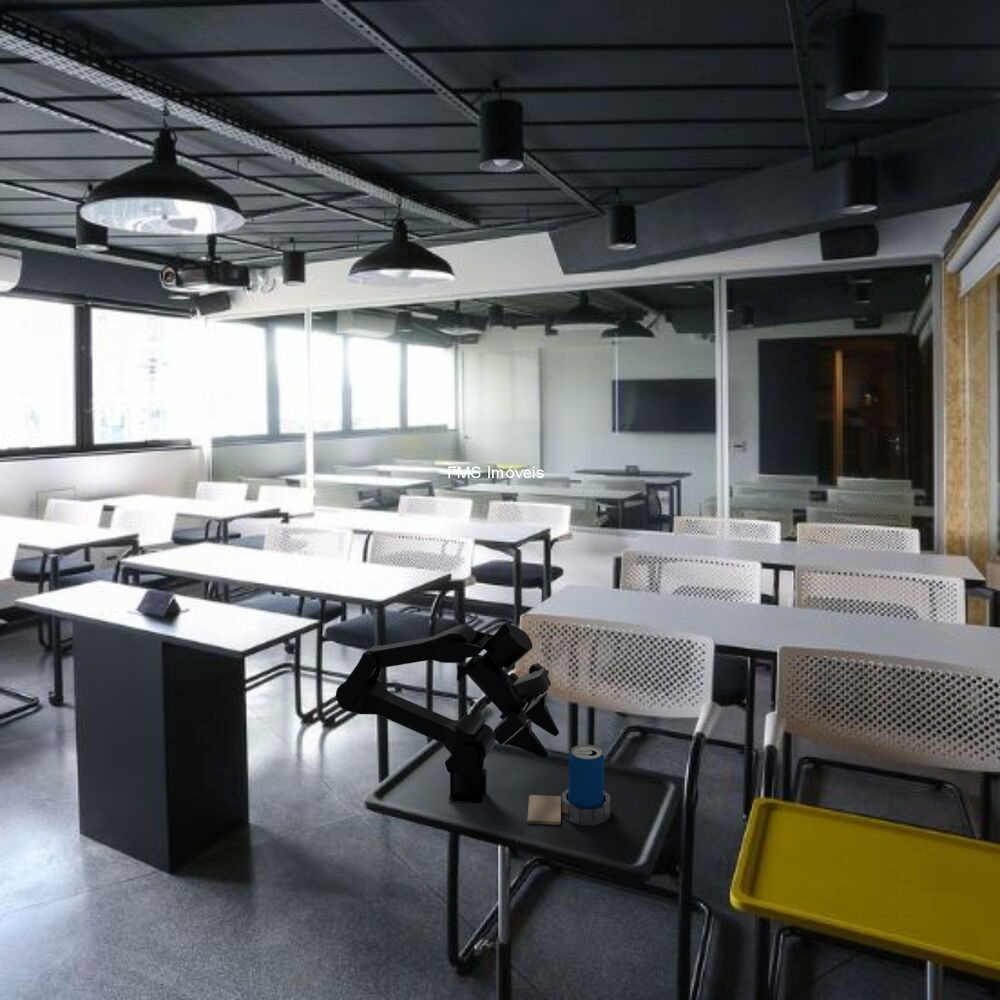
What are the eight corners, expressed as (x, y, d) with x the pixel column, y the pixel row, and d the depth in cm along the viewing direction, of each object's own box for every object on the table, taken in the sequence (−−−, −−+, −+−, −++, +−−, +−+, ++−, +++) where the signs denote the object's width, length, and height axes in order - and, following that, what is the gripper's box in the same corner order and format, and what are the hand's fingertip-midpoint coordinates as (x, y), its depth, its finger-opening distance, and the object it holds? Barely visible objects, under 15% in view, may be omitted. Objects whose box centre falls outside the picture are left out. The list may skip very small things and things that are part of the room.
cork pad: (527, 823, 149) (527, 820, 148) (529, 798, 157) (529, 795, 157) (560, 824, 148) (560, 821, 148) (560, 799, 157) (560, 796, 157)
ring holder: (561, 824, 148) (561, 808, 148) (561, 799, 157) (562, 784, 156) (611, 826, 148) (611, 810, 147) (608, 801, 156) (608, 786, 156)
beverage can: (605, 822, 149) (606, 759, 147) (569, 821, 149) (570, 759, 147) (601, 803, 155) (602, 743, 154) (567, 803, 155) (567, 743, 154)
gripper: (510, 673, 142) (573, 741, 141) (536, 639, 160) (592, 700, 159) (467, 711, 146) (528, 778, 144) (497, 674, 163) (551, 734, 162)
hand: (552, 745), depth 152 cm, fingers open, 9 cm apart
